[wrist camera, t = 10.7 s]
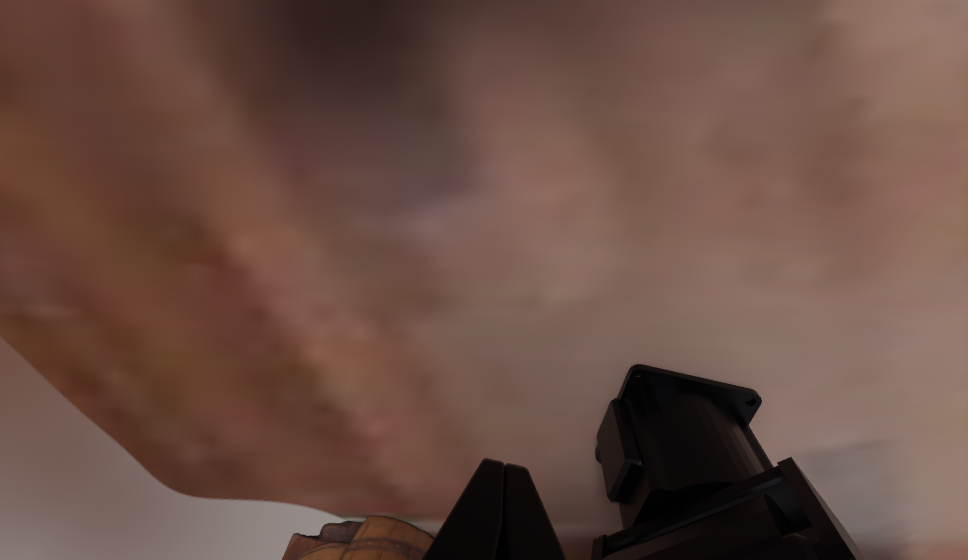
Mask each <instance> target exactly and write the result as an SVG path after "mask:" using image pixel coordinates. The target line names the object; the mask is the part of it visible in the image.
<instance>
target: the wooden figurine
mask: <svg viewBox="0 0 968 560" xmlns="http://www.w3.org/2000/svg"><path fill="white" fill-rule="evenodd" d="M433 540H434V539H433V538H432V537H431V536H430V535H429V534H427V533H426V532H424V531H422V530H419V529H417V528H415V527H414V526H412V525H411V524H409V523H406V522H403V521H400V520H396V519H390V518H387V517H383V516H369V517H368V518H367V519H366V520H365V521H364V522H363V523H356V522H351V521H345V522H343V523H328V524H325V525H324V526H323V527H322V529H321V532H320V535H318V536H306V535H301V534H299V533H295V534H293V536H292V538H291V540H290V542H289V544H288V547H287V549H286V551H285V554H284V556H283V558H282V560H422V558H423V556H424V555H425V553H426V552H427V550H428V548H429V547H430V545H431V543H432V542H433Z"/></svg>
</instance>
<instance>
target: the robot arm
mask: <svg viewBox="0 0 968 560" xmlns="http://www.w3.org/2000/svg"><path fill="white" fill-rule="evenodd" d="M639 373H643V375H642V376H640V377H636V374H639ZM749 398H752V399H751V400H749V401H746V400H747V399H749ZM761 403H762V400H761V397H760V396H759V394H758V393H757V392H756V391H755V390H753V389H749V388H744V387H740V386H736V385H731V384H727V383H722V382H718V381H713V380H709V379H704V378H700V377H696V376H691V375H687V374H682V373H678V372H673V371H669V370H664V369H660V368H655V367H651V366H647V365H642V364H637V365H634V366H632V367H631V368H630V369H629V371H628V373H627V375H626V378H625V380H624V383H623V385H622V387H621V390H620V392H619V395H618V397H617V398H615V399H613V400H612V401H611V402H610V405H609V407H608V409H607V412H606V414H605V417H604V419H603V422H602V424H601V426H600V429H599V431H598V434H597V439H598V445H597V447H596V449H595V456H596V459H597V461H598V462H599V463H601V464H602V468H603V474H604V480H605V486H606V492H607V497H608V498H609V500H610V502H612V503H616V504H619V509H620V514H621V519H622V524H623V530H621V531H619V532H616V533H614V534H611V535H609V536H607V535H602V536H600V537H598V538H595V539H594V540H593V548H592V555H591V560H866V559H865V557H864V556H863V554H862V553H861V551H860V550H859V549H858V547H857V546H856V544H855V543H854V541H853V540H852V538H851V537H850V536H849V534H848V533H847V531H846V530H845V528H844V527H843V526H842V524H841V523H840V522H839V520H838V519H837V518H836V516H835V515H834V514H833V512H832V511H831V509H830V508H829V507H828V505H827V504H826V503H825V501H824V500H823V499H822V497H821V496H820V495H819V493H818V492H817V491H816V489H815V488H814V487H813V485H812V484H811V483H810V481H809V480H808V479H807V477H806V476H805V475H804V473H803V472H802V471H801V469H800V468H799V467H798V465H797V464H796V463H795V461H794V460H793V459H792V457H790V458H787V459H785V460H782V461H780V462H778V466H776V467H773V465H772V464H771V462H770V460H769V459H768V457H767V455H766V454H765V452H764V450H763V449H762V447H761V445H760V444H759V442H758V440H757V439H756V437H755V435H754V434H753V432H752V430H751V429H750V427H749V423H750V422H751V420H752V418H753V417H754V415H755V413H756V412H757V410H758V408H759V407H760V405H761ZM422 560H567V559H566V557H565V554H564V552H563V550H562V548H561V545H560V543H559V541H558V538H557V536H556V534H555V531H554V529H553V527H552V524H551V522H550V520H549V517H548V515H547V513H546V510H545V508H544V506H543V503H542V501H541V499H540V497H539V494H538V492H537V490H536V487H535V485H534V483H533V480H532V478H531V476H530V473H529V471H528V469H527V468H526V467H523V466H519V465H515V464H510V463H508V464H506V465H504V463H503V462H501V461H497V460H492V459H488V458H485V459H483V460H482V462H481V463H480V465H479V467H478V468H477V470H476V471H475V473H474V475H473V476H472V478H471V480H470V481H469V483H468V485H467V486H466V488H465V489H464V491H463V493H462V494H461V496H460V498H459V499H458V501H457V503H456V504H455V506H454V507H453V509H452V511H451V512H450V514H449V516H448V517H447V519H446V521H445V522H444V524H443V525H442V527H441V529H440V530H439V532H438V534H437V535H436V537H435V538H434V540H433V542H432V543H431V545H430V547H429V548H428V550H427V552H426V553H425V555H424V556H423V558H422Z"/></svg>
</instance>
